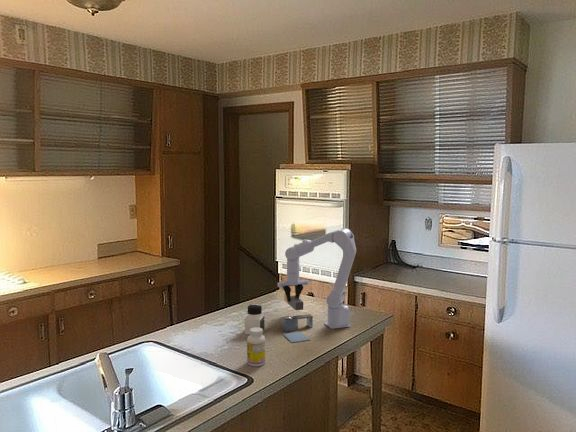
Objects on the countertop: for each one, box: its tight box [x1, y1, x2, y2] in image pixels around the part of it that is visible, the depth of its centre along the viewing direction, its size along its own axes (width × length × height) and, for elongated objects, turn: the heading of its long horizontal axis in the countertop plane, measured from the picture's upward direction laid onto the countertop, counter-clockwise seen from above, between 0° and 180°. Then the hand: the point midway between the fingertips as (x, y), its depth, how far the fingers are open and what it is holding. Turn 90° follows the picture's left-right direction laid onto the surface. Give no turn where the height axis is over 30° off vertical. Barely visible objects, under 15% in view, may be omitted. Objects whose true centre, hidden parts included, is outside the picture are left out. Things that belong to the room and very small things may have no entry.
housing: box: [280, 313, 314, 333], centre depth 215 cm, size 14×5×6 cm, turn 111°
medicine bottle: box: [243, 303, 265, 336], centre depth 209 cm, size 7×7×12 cm
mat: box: [282, 331, 310, 344], centre depth 204 cm, size 8×10×1 cm
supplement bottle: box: [246, 327, 266, 367], centre depth 177 cm, size 7×7×13 cm
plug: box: [283, 292, 304, 311], centre depth 225 cm, size 4×15×4 cm, turn 21°
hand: (292, 300), depth 226 cm, fingers closed on plug, 4 cm apart
